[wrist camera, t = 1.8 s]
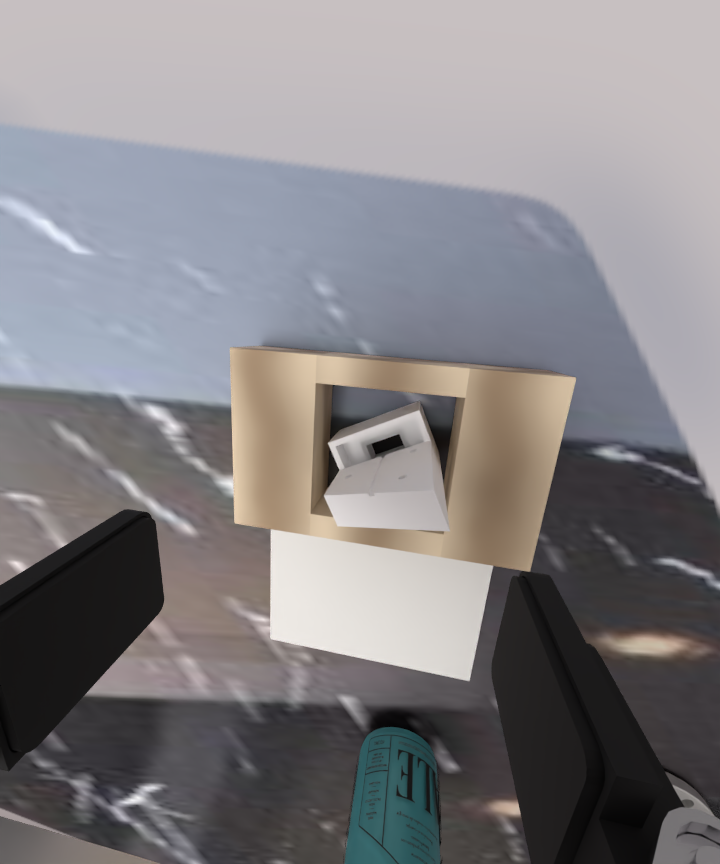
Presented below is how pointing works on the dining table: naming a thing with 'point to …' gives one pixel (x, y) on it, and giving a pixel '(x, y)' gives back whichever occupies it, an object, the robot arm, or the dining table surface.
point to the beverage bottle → (395, 801)
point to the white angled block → (388, 475)
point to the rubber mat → (377, 603)
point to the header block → (466, 463)
